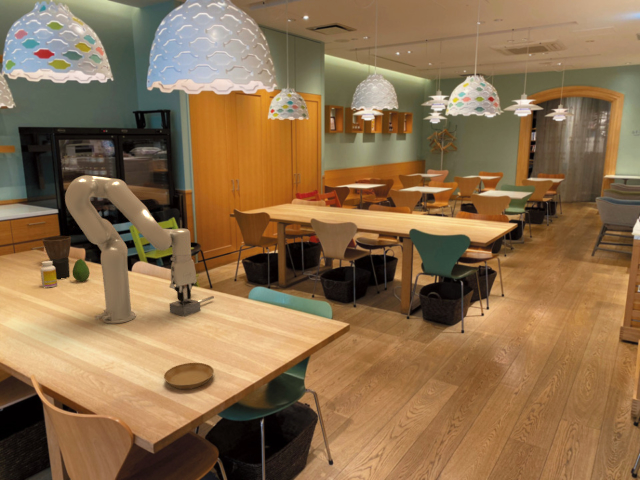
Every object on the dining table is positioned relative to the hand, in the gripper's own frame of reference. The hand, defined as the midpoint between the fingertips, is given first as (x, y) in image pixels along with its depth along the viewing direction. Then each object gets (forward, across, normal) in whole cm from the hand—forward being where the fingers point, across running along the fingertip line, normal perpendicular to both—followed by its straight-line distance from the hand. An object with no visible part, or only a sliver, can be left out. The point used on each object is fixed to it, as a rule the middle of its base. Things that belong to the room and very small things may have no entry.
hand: (184, 299), depth 206 cm
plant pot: (+6, +1, +128) cm, 128 cm away
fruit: (+6, -7, +81) cm, 81 cm away
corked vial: (+4, 0, 0) cm, 4 cm away
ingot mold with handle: (+6, +6, +1) cm, 8 cm away
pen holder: (+6, -11, +97) cm, 98 cm away
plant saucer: (+6, -36, -53) cm, 64 cm away
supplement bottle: (+6, -21, +84) cm, 87 cm away
